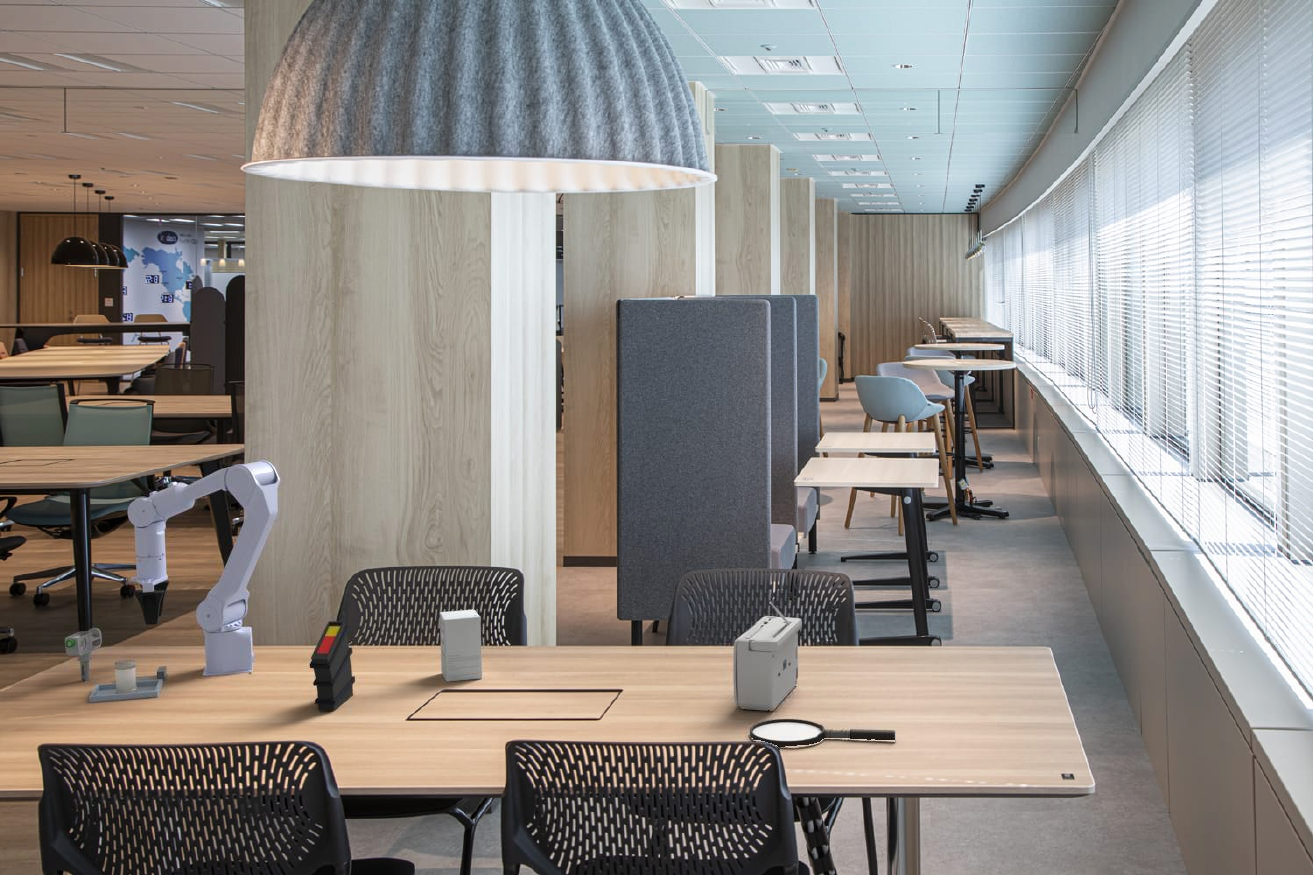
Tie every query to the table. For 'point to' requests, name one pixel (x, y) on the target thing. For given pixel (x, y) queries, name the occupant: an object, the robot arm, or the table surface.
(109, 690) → the tray
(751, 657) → the stereo radio cassette player
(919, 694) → the table surface
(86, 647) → the mechanical component
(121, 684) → the white cylindrical jar
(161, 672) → the holder
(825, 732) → the magnifying glass
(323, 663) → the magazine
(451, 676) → the supplement box
